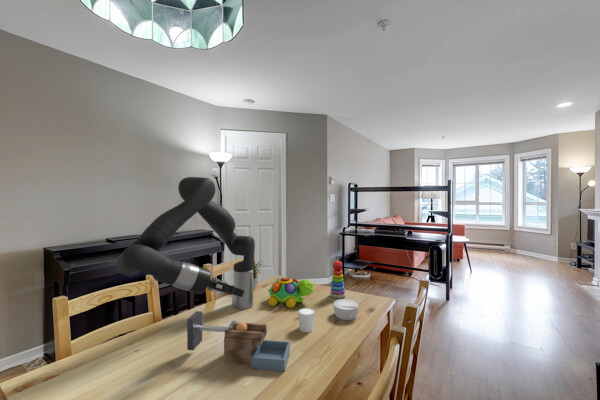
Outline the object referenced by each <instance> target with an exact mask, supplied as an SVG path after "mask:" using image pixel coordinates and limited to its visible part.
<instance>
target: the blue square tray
mask: <svg viewBox="0 0 600 400" xmlns="http://www.w3.org/2000/svg"><path fill="white" fill-rule="evenodd" d="M290 353H291V341H286V340H271V339H270V340H268V339H264V341H263V343H262V345H258V346H257V348H256V350H255V352H254V354H253V356H252V365H251V369H252V370H260V371H263V370H264V371H277V372H286V367H287V365H288V361H289V356H290Z"/></svg>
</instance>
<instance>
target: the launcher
mask: <svg viewBox="0 0 600 400" xmlns="http://www.w3.org/2000/svg"><path fill="white" fill-rule="evenodd" d="M231 323H232V321H231V322H230V324H231ZM238 323H239V322H237V321H236V326H237V324H238ZM245 323H246V325H247V330H246V331H240V330H225V332H224V338H223V364H231V365H242V366H243V365H245V366H252V356H253V354H254V352H255V350H256V348H257V346H258V345H262V343H263V341H264V340H266V339H265V338H266V337H267V333H268V329H267V323H253V322H251V323H250V322H245Z"/></svg>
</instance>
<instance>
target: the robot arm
mask: <svg viewBox="0 0 600 400" xmlns="http://www.w3.org/2000/svg"><path fill="white" fill-rule="evenodd" d="M177 188H178V189H177V190H178V192H179V195H180V198H181V199H182V200H183V201H182V202H181V203H179V204H178V205H176V206H173V207H172V208H170V209H167V210H166V211H165V212H163V213H162V214H159V216H157V217H156V218H155V219H154V220H153V221H152V222H151V223H150V224H149V225H148V226H147V227H146V228H145V230H144V231H143V232H142V233H141V234H140V236H139V237H138V238H137V239H136V240H135V241H134V242H133V243H132V244H130V246H128V247H127V248H125V249H124V250H123V252H122V253H121V254H120V255H119V256H118V258H117V260H116V269H117V271H118V272H119V273H120V274H121V275H124V276H127V277H128V276H129V277H130V276H131V277H132V276H134V275H135V276H136V275H138V274H139V273H144V274H147V275H149V276H152V278H153V279H154V280H155V281H157V282H160V283H163V284H166V285H170V286H173V287H175V288H178V289H180V290H183V291H188V292H191V293H194V294H197V295H202V294H204V293H205V291H206V289H207V290H208V291H210V292H213V293H220V294H227V295H228V294H229V295H230V296H231V297H232V300H231V303H232V306H233V308H235V309H236V310H237V309H238V310H247V309H250V308H252V307H253V306H254V289H253V265H254V261H255V250H256V249H255V248H256V247H255V246H256V242H255V239H254V237H252V236H250V235H248V236H247V235H238V234H236V233H235V228H236V222H235V219H234V217H233V216H232V215H231V213H230V212H229V211H228V209H226V208H225V207H223V206H221V205H220V204H218V203H216V202H215V201H213V198H214V197H215V194H216V185H215V182H214V180H212V179H210V178H208V177H201V176H200V177H197V176H188V177H187V176H186V177H184V178H182V179H181V180H180V181H179V183H178V187H177ZM197 213H198V214H199V215H200V217H201V218H203V220H204V221H205V222H206V223H207V224H208V225H209V227H210V229H212V230H213V231H214V232H215V233H216V234H217V235H218V237H220V239H221V240H222V241H223V243H224V244H225V245H226V247H227V249H228V250H229V251H230V253H231V254H232V255H235V256H243V258H242V259H243V260H241V261H237V262H235V263H234V264H233V285H230V284H229V283H228V282H227V281H223V280H220V279H219V278H216V277H212V272H211V270H210V269H207V268H204V267H201V266H199V265H196V264H192V263H190V262H185V261H181V260H177V259H175V258H171V257H168V256H166V255H165V254H163V253H162V252H160V250H161V249H162V248H163V247H164V246H165V245H166V244H167V243H168V242H169V240H171V239H172V237H173V236H174V235H175V234H176V232H177V231H179V229H180V228H181V227H182V226H183V225H184V224H185V223H187V222H188V221H189V220H190V219H191V218H192V217H193V216H194V215H195V214H197Z"/></svg>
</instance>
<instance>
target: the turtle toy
mask: <svg viewBox="0 0 600 400" xmlns="http://www.w3.org/2000/svg"><path fill="white" fill-rule="evenodd" d="M314 290H315V288H314V284H313V283H312V282H311V281H309V280H308V279H306V278H302V279H301V280H299V281H298V279H296V278H292V279H291V278H290V277H288V276H285V277H279V278H277V279H276V281H275V282H273V283H272V286H271V287H270V288H268V289H267V292H268V294H269V296H270V297H268V301H267V303H268V305H269V306H270V307H276V306H277V305H278V303H285V305H286V306H287V308H288V309H293V308H294V307H295V306H296V304H297V303H303V302H304V296H306V297H307V296H310V295H311V294H312V293H313V292H314Z"/></svg>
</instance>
